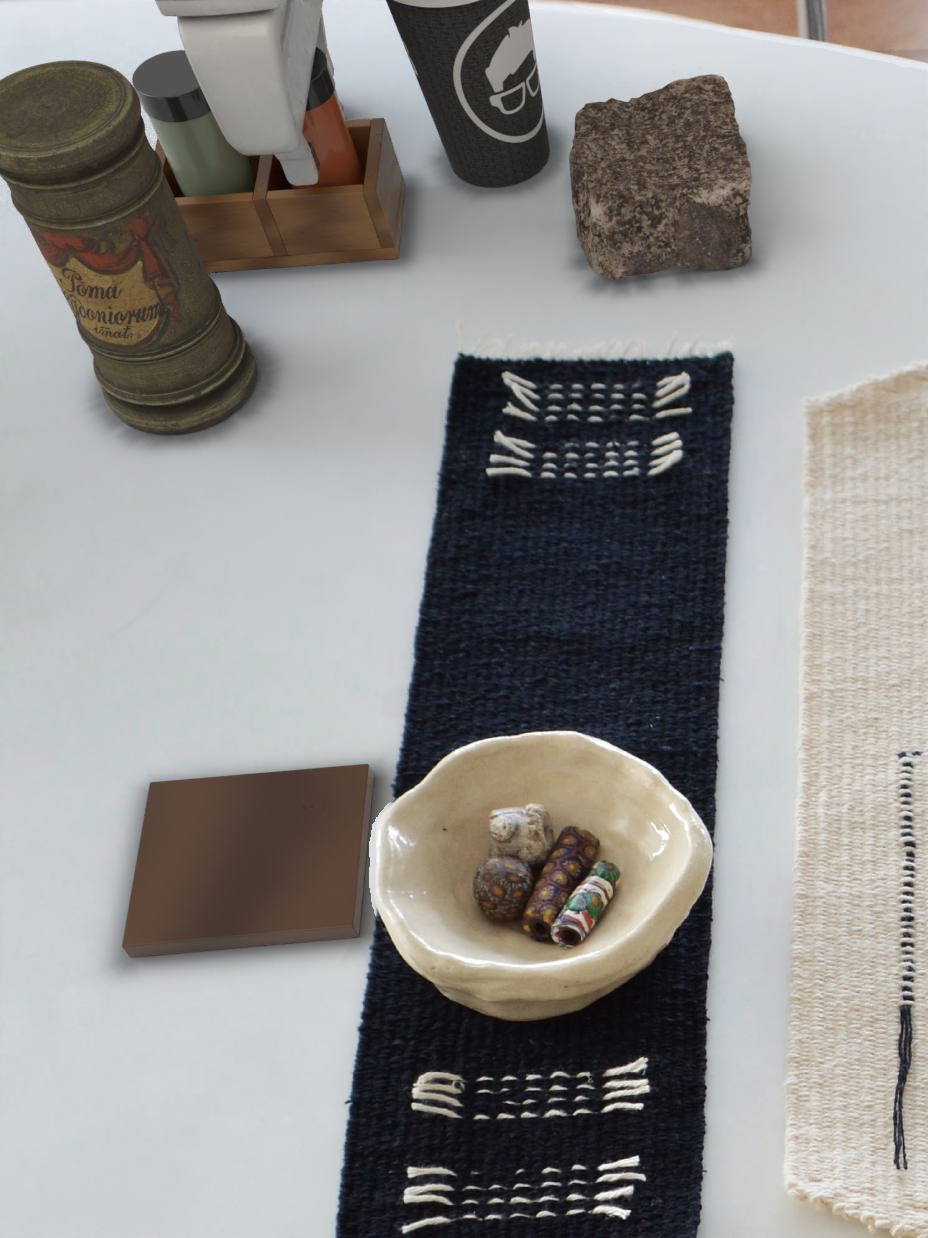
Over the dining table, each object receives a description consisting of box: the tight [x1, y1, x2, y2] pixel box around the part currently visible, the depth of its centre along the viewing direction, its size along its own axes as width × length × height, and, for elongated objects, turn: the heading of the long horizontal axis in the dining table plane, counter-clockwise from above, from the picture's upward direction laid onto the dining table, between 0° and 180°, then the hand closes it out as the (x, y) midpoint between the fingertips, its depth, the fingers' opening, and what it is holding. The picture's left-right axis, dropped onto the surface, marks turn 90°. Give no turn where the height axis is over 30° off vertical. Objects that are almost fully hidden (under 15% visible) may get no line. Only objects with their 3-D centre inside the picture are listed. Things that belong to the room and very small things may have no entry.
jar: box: [131, 49, 256, 197], centre depth 113 cm, size 5×5×10 cm
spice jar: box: [289, 47, 365, 189], centre depth 113 cm, size 5×5×10 cm
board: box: [121, 763, 375, 958], centre depth 92 cm, size 11×10×1 cm
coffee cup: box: [385, 0, 551, 188], centre depth 115 cm, size 10×10×15 cm
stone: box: [568, 73, 753, 281], centre depth 116 cm, size 11×13×6 cm
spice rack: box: [154, 117, 407, 274], centre depth 116 cm, size 14×7×5 cm, turn 96°
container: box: [0, 59, 258, 436], centre depth 103 cm, size 9×9×18 cm
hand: (313, 129), depth 112 cm, fingers open, 8 cm apart
